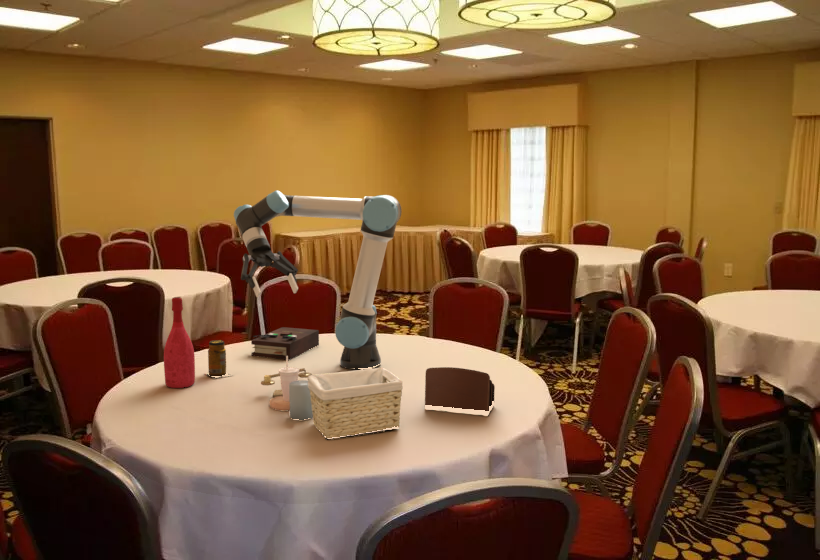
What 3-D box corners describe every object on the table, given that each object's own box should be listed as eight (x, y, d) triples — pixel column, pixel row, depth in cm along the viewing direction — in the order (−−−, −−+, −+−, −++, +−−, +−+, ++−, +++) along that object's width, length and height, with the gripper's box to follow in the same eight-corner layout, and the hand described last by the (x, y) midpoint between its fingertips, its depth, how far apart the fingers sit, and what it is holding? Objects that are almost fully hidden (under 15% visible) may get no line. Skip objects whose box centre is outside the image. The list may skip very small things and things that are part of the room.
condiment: (222, 370, 258) (221, 338, 257) (233, 376, 252) (232, 342, 250) (203, 374, 254) (202, 341, 252) (213, 379, 247) (212, 345, 246)
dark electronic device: (323, 327, 299) (289, 343, 271) (324, 344, 300) (290, 362, 272) (282, 323, 305) (245, 339, 276) (282, 341, 306) (245, 358, 278)
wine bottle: (201, 383, 243) (198, 296, 239) (181, 390, 234) (177, 300, 230) (179, 379, 247) (175, 293, 243) (158, 386, 238) (154, 298, 234)
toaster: (488, 417, 212) (489, 371, 210) (424, 410, 218) (424, 365, 216) (494, 407, 222) (495, 363, 219) (432, 400, 227) (433, 357, 225)
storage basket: (321, 443, 191) (321, 390, 188) (306, 423, 205) (305, 373, 203) (404, 431, 200) (405, 380, 197) (384, 413, 214) (384, 366, 212)
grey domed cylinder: (314, 412, 215) (314, 380, 213) (312, 420, 208) (312, 387, 206) (291, 412, 214) (290, 380, 213) (288, 420, 207) (287, 387, 206)
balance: (312, 392, 234) (312, 366, 233) (311, 396, 229) (311, 370, 228) (262, 392, 234) (261, 366, 232) (259, 397, 229) (259, 370, 227)
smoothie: (280, 396, 225) (279, 353, 222) (300, 396, 225) (300, 353, 223) (278, 403, 218) (277, 358, 216) (299, 403, 219) (298, 358, 217)
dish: (310, 398, 228) (310, 394, 228) (306, 410, 216) (306, 406, 216) (272, 398, 227) (272, 394, 227) (266, 410, 215) (266, 406, 215)
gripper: (285, 248, 256) (307, 295, 247) (219, 252, 241) (239, 303, 231) (292, 235, 251) (314, 282, 242) (225, 238, 236) (246, 289, 227)
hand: (277, 292), depth 237 cm, fingers open, 13 cm apart
